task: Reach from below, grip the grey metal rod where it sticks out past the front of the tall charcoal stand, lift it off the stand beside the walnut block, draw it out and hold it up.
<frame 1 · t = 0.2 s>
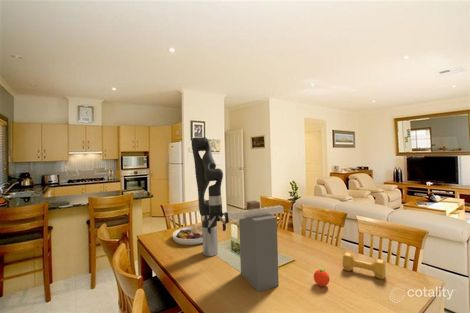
hand: (216, 232, 137), 17 cm above the table, tool pointing down, fingers open, 8 cm apart
bowl: (193, 238, 177), on the table
rod: (257, 215, 115), point 32 cm above the table, touching stand
walnut block: (253, 211, 123), point 32 cm above the table, touching stand
tomato: (322, 285, 112), on the table
dumbbell: (363, 273, 121), on the table
stand: (258, 279, 118), on the table
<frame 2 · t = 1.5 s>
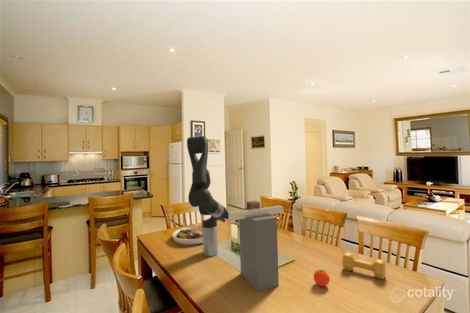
hand: (231, 220, 137), 24 cm above the table, tool tilted 55°, fingers open, 8 cm apart
nothing on the table moved.
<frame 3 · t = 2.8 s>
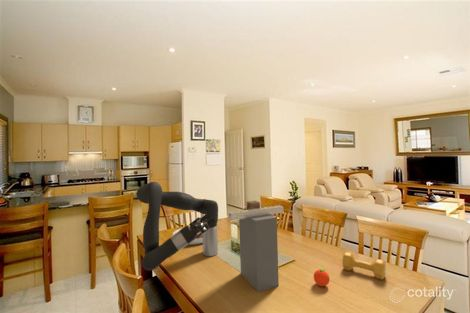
hand: (211, 216, 118), 31 cm above the table, tool pointing upward, fingers open, 8 cm apart
nothing on the table moved.
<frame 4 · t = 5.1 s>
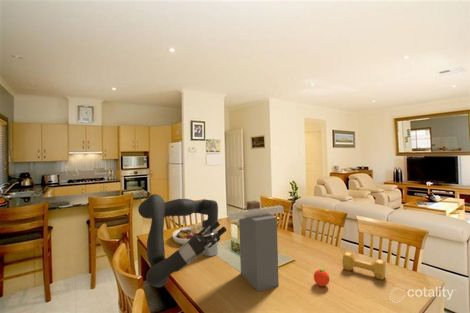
hand: (222, 225, 108), 30 cm above the table, tool pointing upward, fingers open, 8 cm apart
nothing on the table moved.
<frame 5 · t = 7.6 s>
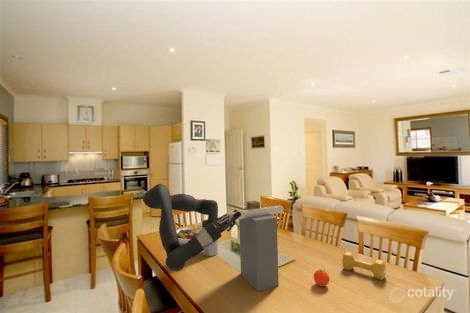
hand: (238, 212, 111), 35 cm above the table, tool pointing upward, fingers closed on rod, 3 cm apart
rod: (257, 215, 115), point 32 cm above the table, touching gripper, stand
everything else where it was.
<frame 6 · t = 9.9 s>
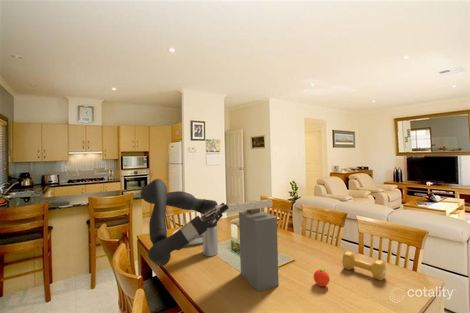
hand: (225, 205, 109), 39 cm above the table, tool pointing upward, fingers closed on rod, 3 cm apart
rod: (245, 209, 112), point 36 cm above the table, touching gripper
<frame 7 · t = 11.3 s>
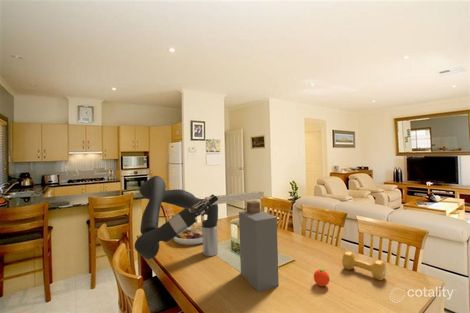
hand: (215, 196, 107), 43 cm above the table, tool pointing upward, fingers closed on rod, 3 cm apart
rod: (235, 201, 110), point 40 cm above the table, touching gripper
everything else where it was.
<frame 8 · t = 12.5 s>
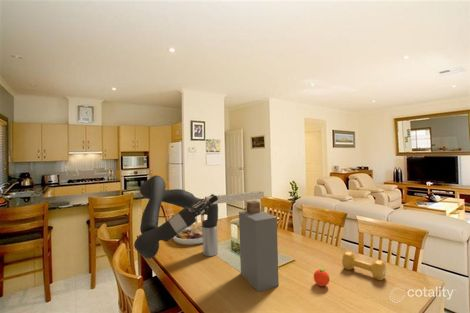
hand: (215, 196, 107), 43 cm above the table, tool pointing upward, fingers closed on rod, 3 cm apart
rod: (235, 200, 110), point 40 cm above the table, touching gripper
everything else where it was.
at the end: the gripper is holding rod; rod inside the target area (0.5 cm from its centre), point 40.4 cm above the table; walnut block moved 0.0 cm from its start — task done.
